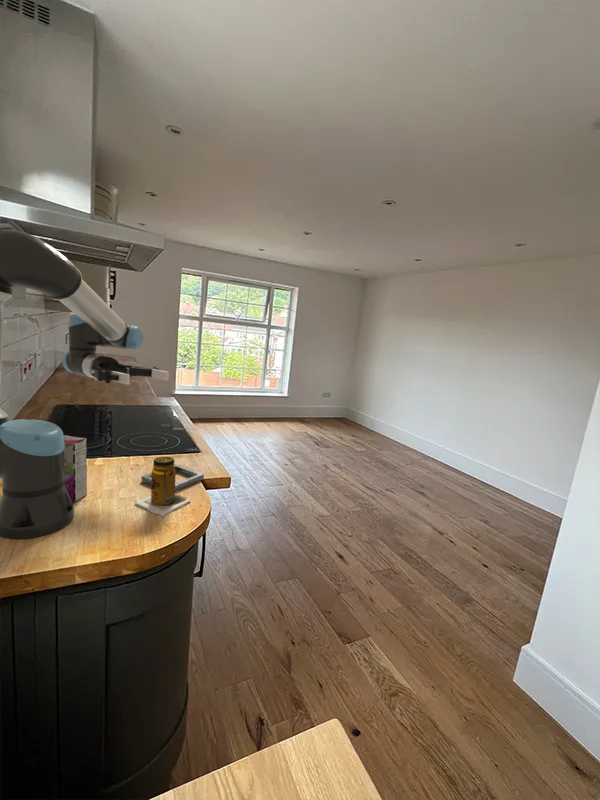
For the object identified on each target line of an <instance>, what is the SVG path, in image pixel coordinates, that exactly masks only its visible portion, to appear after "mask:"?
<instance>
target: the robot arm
mask: <svg viewBox="0 0 600 800" xmlns="http://www.w3.org/2000/svg"><path fill="white" fill-rule="evenodd" d="M13 287H14V288H15V287H16V288H26V289H28V290H30V289H31V290H34V291H37V292H40V293H42V294H43V295H45V296H46V297H47V298H48V299H52V300H55V301H59V302H60V303H61V304H63V305H64V306H65V307H66V308H68V310H70V311H71V312H72V314H70V315H69V316H68V327H67V328H68V345H69V347H68V351H67V352H66V353H65V354H64V356H63V357H62V362H61V363H62V366H63V367H64V369H65V371H67V372H70V373H72V374H74V375H76V376H82V377H87V378H92V379H94V381H99V382H102V381H103V382H105V384H111V382H113V383H119V384H123V385H130V381H131V379H130V378H131V377H133V376H134V377H149V378H150V377H151V379H156V380H161V381H166V382H168V381H169V378H170V377H169V375H170V372H169V371H166V370H161V369H160V368H158V367H157V366H153V367H149V366H147V367H146V366H138V365H132V364H129V365H127V364H124V363H120V362H118V360H117V359H116V358H114V357H110V356H106V355H105V356H104V355H102V354H97V347H105V348H114V349H121V350H123V349H124V350H133V351H134V350H139V349H140V348H141V347H142V343H143V339H144V338H143V337H144V336H143V331H142V329H141V328H140V327H139V326H136V325H133V324H130V325H128V324H127V323H126V322H125V321H124V320H123V319H122V318H121V317H120V316H119V315H118V314H117V312H115V311H114V310H113V309H112V308H111V307H110V305H108V304H107V303H106V302H105V300H103V299H102V298H101V297H100V296H99V295H98V294H97V293H96V292H95V291H94V290H93V288H91V287H90V285H89V284H87V283H86V281H84V280H83V276H82V272H81V271H80V269H78V267H77V266H76V265H75V264H73V262H72V261H71V260H69V259H68V258H67V257H66V256H65V255H64V254H63V253H61V252H60V251H59V250H57V249H56V248H55V247H53V246H51V245H50V244H49V243H46V242H45V241H43V240H42V239H40V238H38V237H37V236H34V235H32V234H30V233H27V232H24V231H20V230H16V229H10V228H9V229H4V228H0V383H1V377H2V376H1V375H2V371H1V370H2V353H3V351H2V349H3V328H4V327H3V324H4V323H3V321H4V304H5V302H7V301H8V300H10V299H11V298H12V297H13V289H14V288H13ZM8 415H9V414H8V413H6V412H5V411H4V410H3V409H2V408H1V407H0V479H1V488H2V496H1V498H0V537H2V538H6V539H11V540H12V539H15V540H18V539H19V540H21V539H30V538H36V537H37V538H38V537H42V536H46V535H49V534H52V533H54V532H57V531H59V530H61V529H63V528H64V527H66V526H68V525H69V524H70V523H71V522H72V521H73V519H74V517H75V508H74V507H75V506H74V502H72V501H71V499H70V496H69V494H68V492H67V490H66V487H65V460H64V449H65V443H64V438H63V435H64V432H63V430H62V429H61V427H60V426H58V425H57V424H56V423H53V422H51V421H46V420H43V419H25V418H22V419H21V418H20V419H14V420H9V421H8Z"/></svg>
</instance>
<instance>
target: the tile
mask: <svg viewBox="0 0 600 800" xmlns="http://www.w3.org/2000/svg"><path fill="white" fill-rule="evenodd" d="M148 499H151V495H149V496H147V497H145V498H143V499H142V498H141V499H140V500H137V501H135V503H134V505H135V506H137V507H141V508H142V509H144V508H145V509H144V510H146V509H147V510H146V511H149V512H151V511H152V513H153V512H154V514H155V513H156V514H155V515H158V514H159V515H158V516H160V515H161V517H163V516H165V515H167V514H169V513H171V512H173V510H174V511H175V509H176V510H177V508H178V509H180V508H182V507H184V506H186V505H187V503H188V502H190V501H191V502H192V500H191V499H190V498H189V499H188V498H187V499H184V500H183V501H180V502H177V503H176V504H174V505H172V506H169V507H167V508H165V509H160V508H158V507H155V506H153V505H151V504H149V503H147V502H145V500H148ZM191 502H190V503H191ZM185 504H186V505H185ZM188 504H189V503H188ZM183 505H184V506H183ZM181 506H182V507H181ZM179 507H180V508H179ZM162 515H163V516H162Z"/></svg>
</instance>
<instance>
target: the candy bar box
mask: <svg viewBox="0 0 600 800" xmlns="http://www.w3.org/2000/svg"><path fill="white" fill-rule="evenodd" d="M63 438H64V443H65V449H64V460H65V487H66V490H67V492H68V494H69V496H70V499H71V501H72V503H75V502H78V501H79V500H81V499H82V498H84V497H85V496H87V494H88V493H87V492H88V489H87V488H88V481H87V479H88V478H87V474H88V473H87V470H88V469H87V467H88V465H87V463H88V462H87V457H88V455H87V451H88V450H87V442H88V441H87V438H86V437H81V436H71V435H66V434H65V435H64V434H63Z"/></svg>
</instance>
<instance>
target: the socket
mask: <svg viewBox="0 0 600 800" xmlns="http://www.w3.org/2000/svg"><path fill="white" fill-rule="evenodd" d="M174 468H175V469H176V473H178V474H179V473H180V474H181V475H185V476H187V477H189V478H185V479H183V480H181V481H179V482H177V483H176V482H175V491H176V492H178V491H181V490H183V489H185V488H188V487H190V486H192V485H194V484H197V483H198V481H199V482H201V481H203V480H204V479H205V474H204V473H202V472H199V471H197V470H193V469H190V468H187V467H184V466H182V465H179V464H177V463H176V464H175V463H174ZM196 482H197V483H196ZM141 483H143V484H145V485H148V486H151V483H152V472H150V473H147V474H144V475H142V476H141ZM191 484H192V485H191ZM189 485H190V486H189ZM180 489H181V490H180Z"/></svg>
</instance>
